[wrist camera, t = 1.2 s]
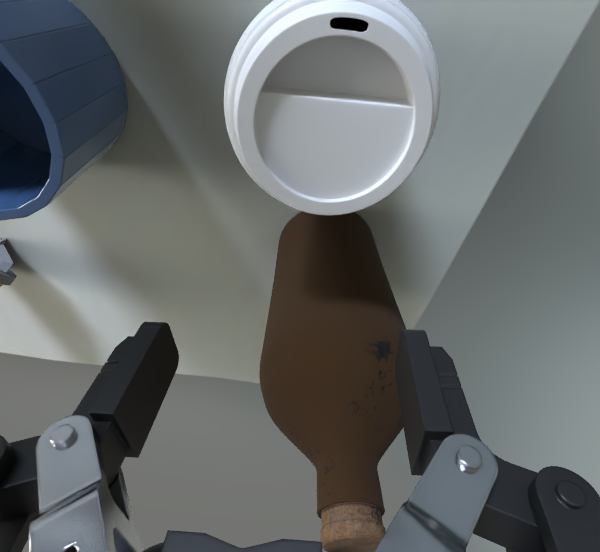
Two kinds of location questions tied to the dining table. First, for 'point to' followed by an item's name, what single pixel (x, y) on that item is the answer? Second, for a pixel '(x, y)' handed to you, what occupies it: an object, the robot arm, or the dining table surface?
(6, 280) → the drill bit
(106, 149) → the cup
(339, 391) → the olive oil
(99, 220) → the dining table surface
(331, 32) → the coffee cup
